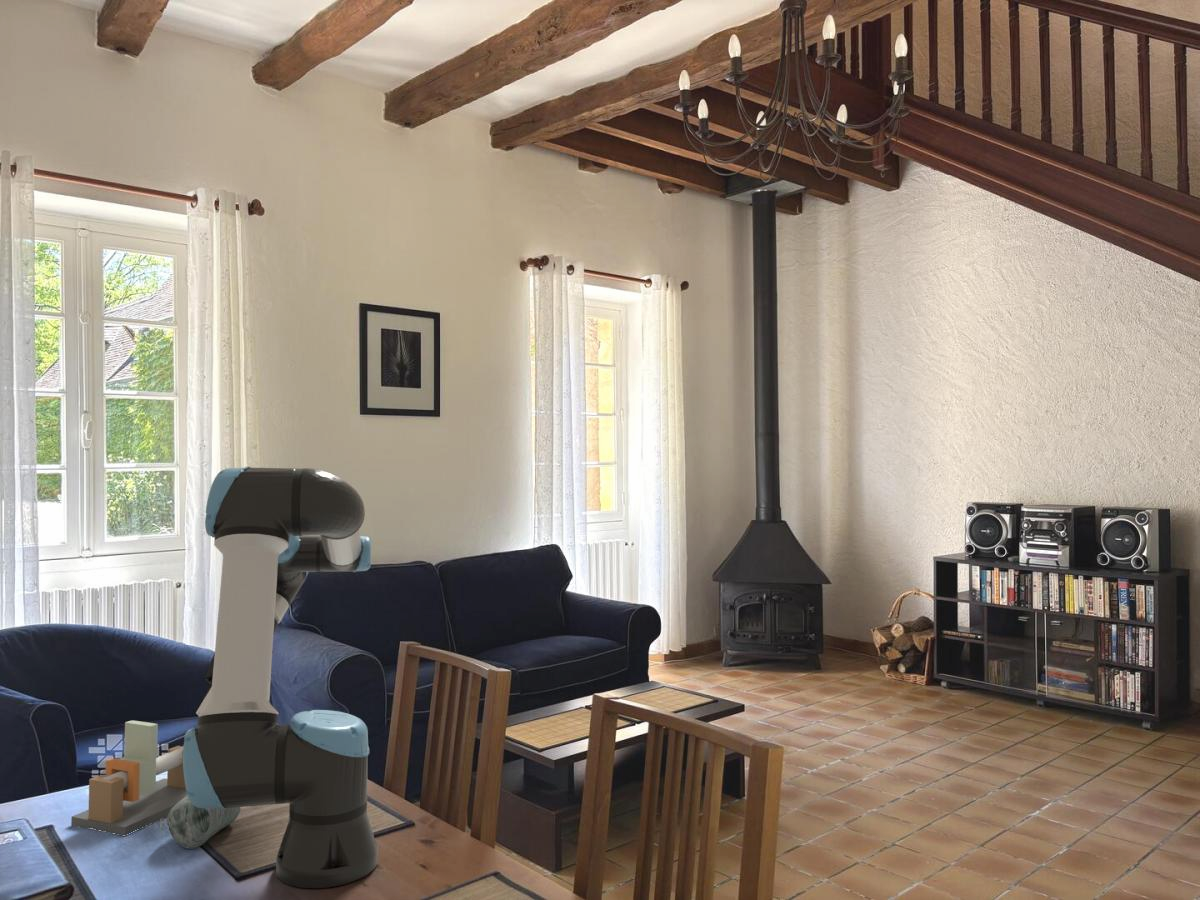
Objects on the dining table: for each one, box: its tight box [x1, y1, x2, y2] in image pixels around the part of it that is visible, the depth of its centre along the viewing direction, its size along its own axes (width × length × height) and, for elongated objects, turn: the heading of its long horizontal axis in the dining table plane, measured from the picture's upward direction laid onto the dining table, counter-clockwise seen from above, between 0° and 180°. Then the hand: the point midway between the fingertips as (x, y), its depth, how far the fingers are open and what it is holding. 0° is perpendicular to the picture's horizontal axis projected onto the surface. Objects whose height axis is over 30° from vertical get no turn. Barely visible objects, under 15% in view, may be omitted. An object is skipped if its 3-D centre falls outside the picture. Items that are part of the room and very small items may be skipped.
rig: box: [70, 745, 187, 836], centre depth 161 cm, size 12×20×9 cm, turn 160°
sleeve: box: [117, 720, 159, 796], centre depth 158 cm, size 6×4×12 cm, turn 71°
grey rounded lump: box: [166, 795, 242, 850], centre depth 150 cm, size 14×10×10 cm
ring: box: [105, 757, 140, 802], centre depth 156 cm, size 6×1×6 cm, turn 70°
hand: (202, 717), depth 173 cm, fingers closed
